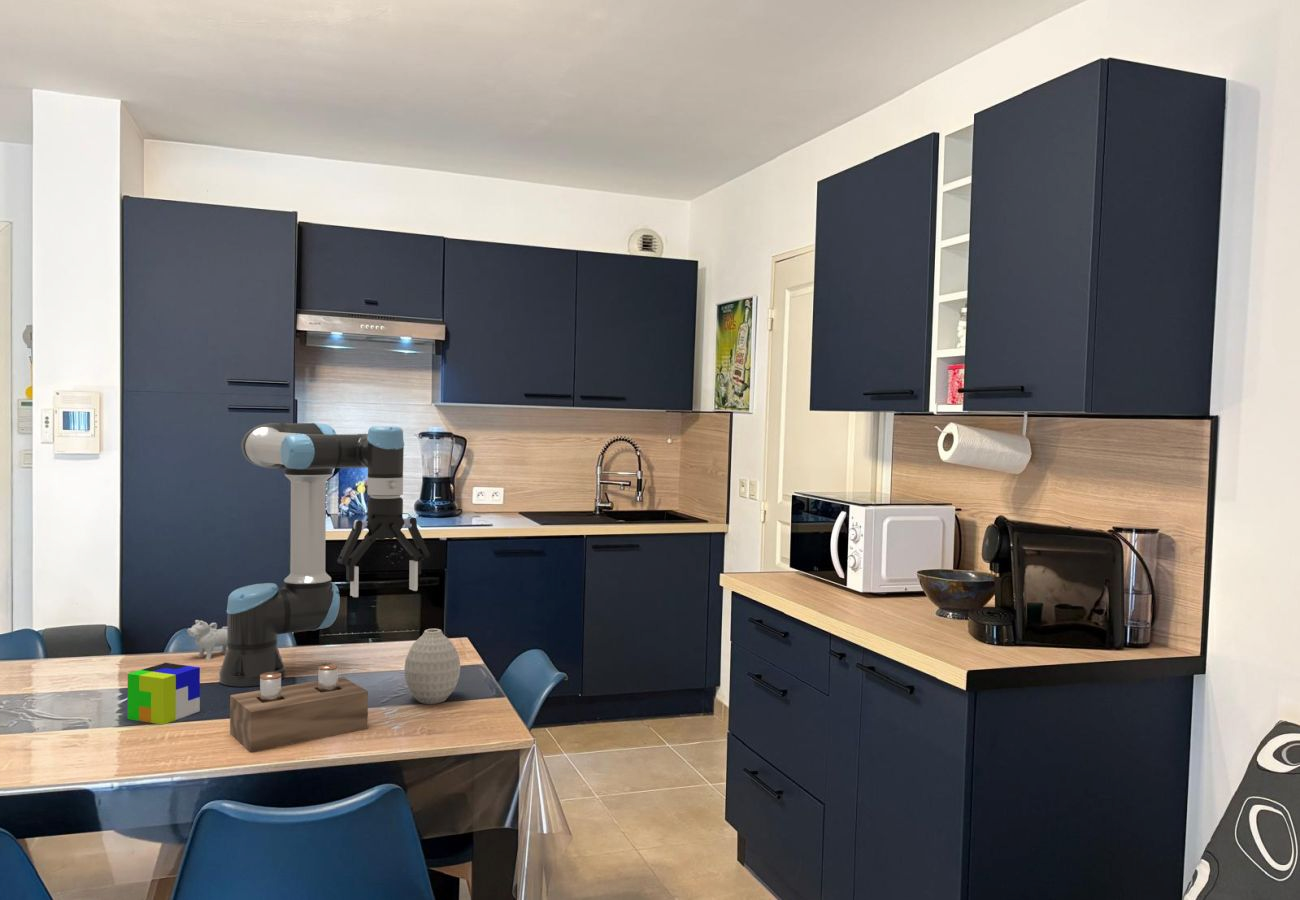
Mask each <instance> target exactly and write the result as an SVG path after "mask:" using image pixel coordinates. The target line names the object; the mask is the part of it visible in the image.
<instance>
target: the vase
mask: <svg viewBox="0 0 1300 900" xmlns="http://www.w3.org/2000/svg"><path fill="white" fill-rule="evenodd" d="M403 669H404V680H405V683H406V686H407V688H408V691H409V692H410V693H411V695H412V696H413V698H414V699H415V700H416V701H417V702H419V703H421V704H424V705H436V704H441V703H443V702H445V701H446V700H447V699H448V698H449V697H450V696H451V694H452V693H453V692H454V690H455V689H456V687H457V685H458V681H459V680H460V674H461V661H460V656H459V653H458V651H457V648H456V646H455V645H454V643H453V642H452V641H451V640H450V639H449V637H448V636H446V635H444V633H443V631H442V629H439V628H428V629H425V630H424V631H423V633H422V635H421V636H419V638H417V639H416V640H415V642H414V643H413V644H412V645H411V647H410V649H409V650H408V652H407V654H406V658H405V661H404V668H403Z"/></svg>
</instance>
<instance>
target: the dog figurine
mask: <svg viewBox="0 0 1300 900" xmlns="http://www.w3.org/2000/svg"><path fill="white" fill-rule="evenodd" d="M194 622H195V624H193V625H192V626H191V627H188V628H187V629H186V632H187V634H188V635H189V636H190V637H192V638H195V644H196V645H197V646H198V647H199V654H198V656H197V657H198V658H204V655H205V652H206V656H205V660H206V661H207V660H212V659H211V658H212V655H213V650H214V648H216V647H217V648H218V647H222V649H221V651H220V653H222V654H226V653H227V626H222V627H221V628H219V629H217V628H218V624H217V622H211V623H210V624H208V623H207V622H206V621H203V620H199V619H196V620H194Z"/></svg>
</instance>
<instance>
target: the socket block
mask: <svg viewBox="0 0 1300 900" xmlns="http://www.w3.org/2000/svg"><path fill="white" fill-rule="evenodd" d="M368 695H369V691H368V690H366V689H365V688H363V687H361V686H360V685H358V684H356V683H355V682H353V681H351V680H349V679H348V678H346V677H344V676H338V690H334V691H328V692H323V693H321V692H319V691H318V680H313V681H308V682H301V683H297V684H296V683H295V684H291V685H285V686H284V685H283V686H281V700H277V701H271V702H265V703H262V702H261V701H260V689H258V690H254V691H248V692H242V693H236V694H231V695H229V697H230V698H229V734H230V736H233V738H234V739H236V741H238V742H239V743H240V744H241V745H242V746H243V747H244V748H245V749H246V748H247V749H246V750H247V751H248V752H249V753H253V752H257V751H258V752H259V751H263V750H267V749H274V748H278V747H277V746H279V747H283V746H282V745H284V746H288V745H292V744H291V743H293V744H297V742H298V743H301V742H306V741H312V740H317V739H322V738H326V737H332V736H336V735H341V734H342V735H343V734H347V733H351V732H356V731H361V730H366V729H369V726H368V724H369V723H368V721H369V718H368V717H369V716H368V715H369V714H368V713H369V710H368V709H369V696H368ZM287 744H288V745H287ZM273 747H274V748H273Z"/></svg>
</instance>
